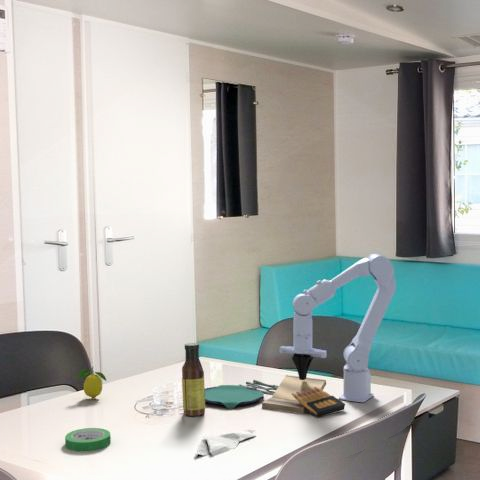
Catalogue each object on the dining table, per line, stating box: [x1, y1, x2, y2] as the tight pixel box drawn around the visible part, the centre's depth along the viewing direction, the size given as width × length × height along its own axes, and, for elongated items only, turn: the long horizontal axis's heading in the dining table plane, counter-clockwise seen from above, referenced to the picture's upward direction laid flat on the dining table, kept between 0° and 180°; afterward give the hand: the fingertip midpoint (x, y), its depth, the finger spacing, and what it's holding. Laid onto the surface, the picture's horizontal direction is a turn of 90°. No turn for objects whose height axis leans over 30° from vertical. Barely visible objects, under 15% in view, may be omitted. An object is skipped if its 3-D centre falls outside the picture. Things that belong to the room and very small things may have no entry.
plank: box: [271, 374, 327, 401], centre depth 232 cm, size 11×13×2 cm
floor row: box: [261, 396, 309, 415], centre depth 224 cm, size 6×13×2 cm, turn 62°
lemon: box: [77, 365, 107, 400], centre depth 234 cm, size 7×6×10 cm
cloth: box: [193, 429, 256, 460], centre depth 194 cm, size 26×14×2 cm, turn 133°
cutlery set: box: [205, 379, 279, 410], centre depth 238 cm, size 20×30×2 cm, turn 136°
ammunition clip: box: [292, 387, 346, 419], centre depth 222 cm, size 11×2×12 cm
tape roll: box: [64, 427, 112, 452], centre depth 194 cm, size 11×11×3 cm
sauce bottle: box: [181, 342, 206, 417], centre depth 219 cm, size 7×6×20 cm
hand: (302, 379), depth 234 cm, fingers closed
